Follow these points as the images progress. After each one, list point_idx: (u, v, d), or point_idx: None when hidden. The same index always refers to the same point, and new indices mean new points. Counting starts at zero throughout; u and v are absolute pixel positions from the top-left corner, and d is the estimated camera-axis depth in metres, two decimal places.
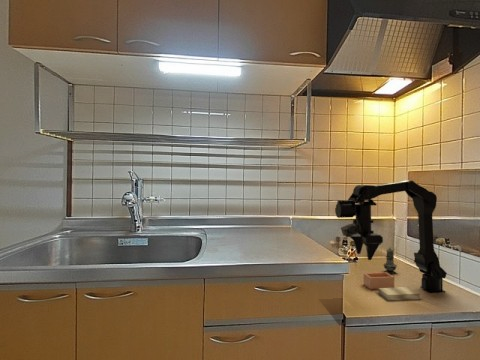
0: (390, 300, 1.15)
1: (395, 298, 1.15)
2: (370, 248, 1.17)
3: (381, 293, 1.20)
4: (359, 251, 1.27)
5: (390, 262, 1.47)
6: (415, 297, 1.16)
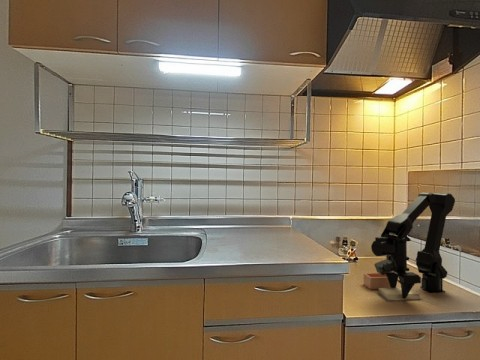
0: (390, 300, 1.15)
1: (395, 298, 1.15)
2: (405, 286, 1.14)
3: (381, 293, 1.20)
4: None
5: None
6: (415, 297, 1.16)
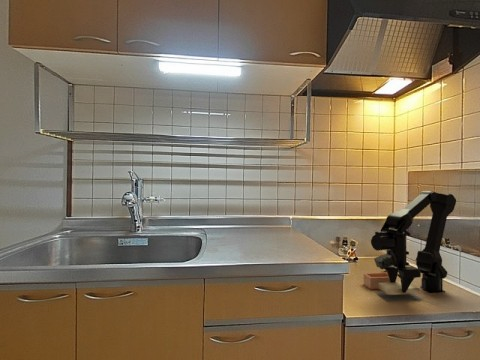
0: (390, 300, 1.15)
1: (395, 292, 1.15)
2: (405, 281, 1.14)
3: (381, 288, 1.20)
4: None
5: None
6: (415, 291, 1.16)
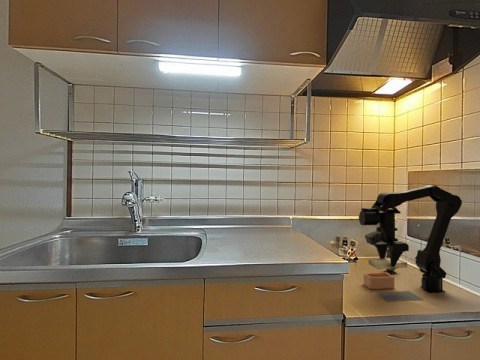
0: (390, 300, 1.15)
1: (384, 267, 1.20)
2: (394, 255, 1.19)
3: (371, 263, 1.25)
4: None
5: None
6: (403, 266, 1.21)
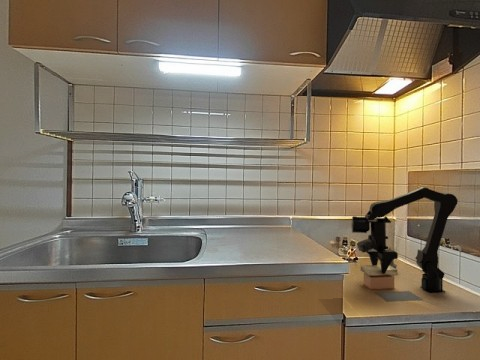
0: (390, 300, 1.15)
1: (375, 273, 1.26)
2: (384, 263, 1.25)
3: (363, 270, 1.31)
4: None
5: None
6: (393, 273, 1.27)
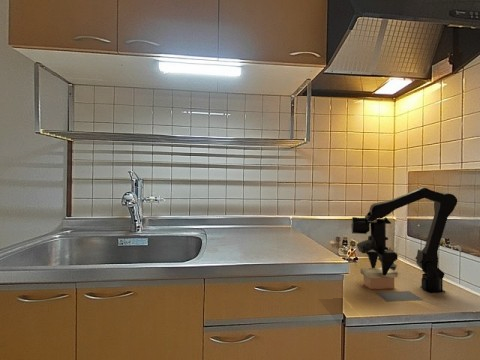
0: (390, 300, 1.15)
1: (375, 276, 1.26)
2: (385, 264, 1.24)
3: (363, 272, 1.31)
4: (374, 266, 1.34)
5: None
6: (393, 275, 1.27)
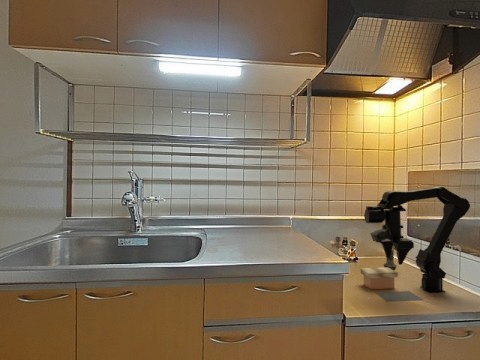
0: (390, 300, 1.15)
1: (375, 276, 1.26)
2: (401, 253, 1.20)
3: (363, 272, 1.31)
4: (388, 256, 1.30)
5: (390, 262, 1.47)
6: (393, 275, 1.27)
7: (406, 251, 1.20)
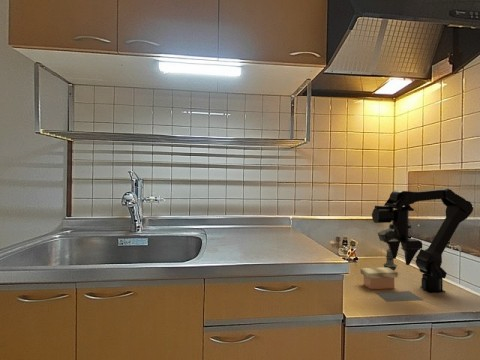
0: (390, 300, 1.15)
1: (375, 276, 1.26)
2: (409, 253, 1.18)
3: (363, 272, 1.31)
4: (395, 256, 1.29)
5: (390, 262, 1.47)
6: (393, 275, 1.27)
7: (414, 251, 1.18)
